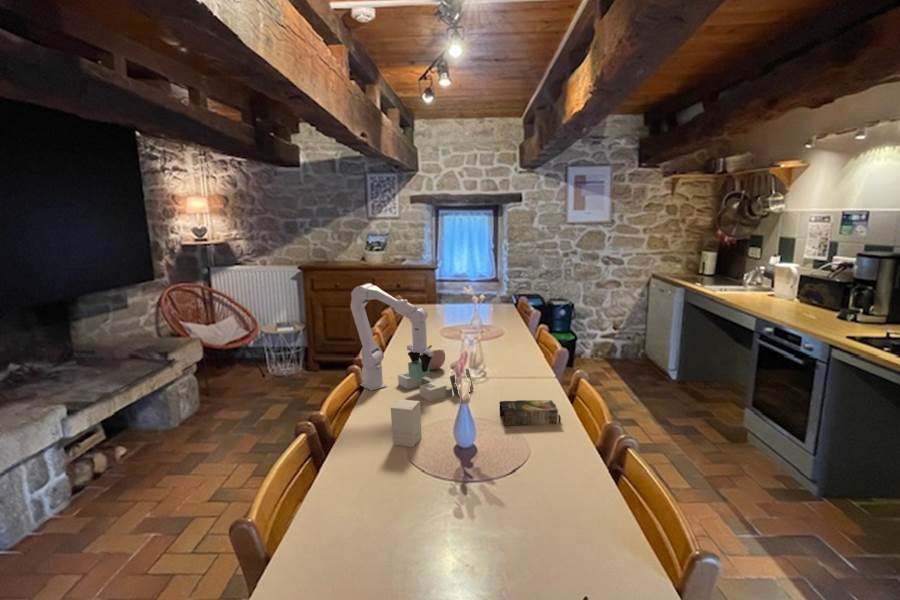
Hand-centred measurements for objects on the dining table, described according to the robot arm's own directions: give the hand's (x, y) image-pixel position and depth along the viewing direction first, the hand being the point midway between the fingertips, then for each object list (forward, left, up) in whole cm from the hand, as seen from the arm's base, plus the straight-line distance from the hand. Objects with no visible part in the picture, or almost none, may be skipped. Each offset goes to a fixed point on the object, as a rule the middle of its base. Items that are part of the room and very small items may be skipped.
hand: (420, 369), depth 192 cm
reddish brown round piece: (-19, +19, -9) cm, 28 cm away
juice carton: (+48, +13, -9) cm, 51 cm away
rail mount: (0, +1, -9) cm, 9 cm away
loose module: (0, -1, -2) cm, 3 cm away
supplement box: (+34, -28, -9) cm, 45 cm away
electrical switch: (+13, +11, -9) cm, 19 cm away
